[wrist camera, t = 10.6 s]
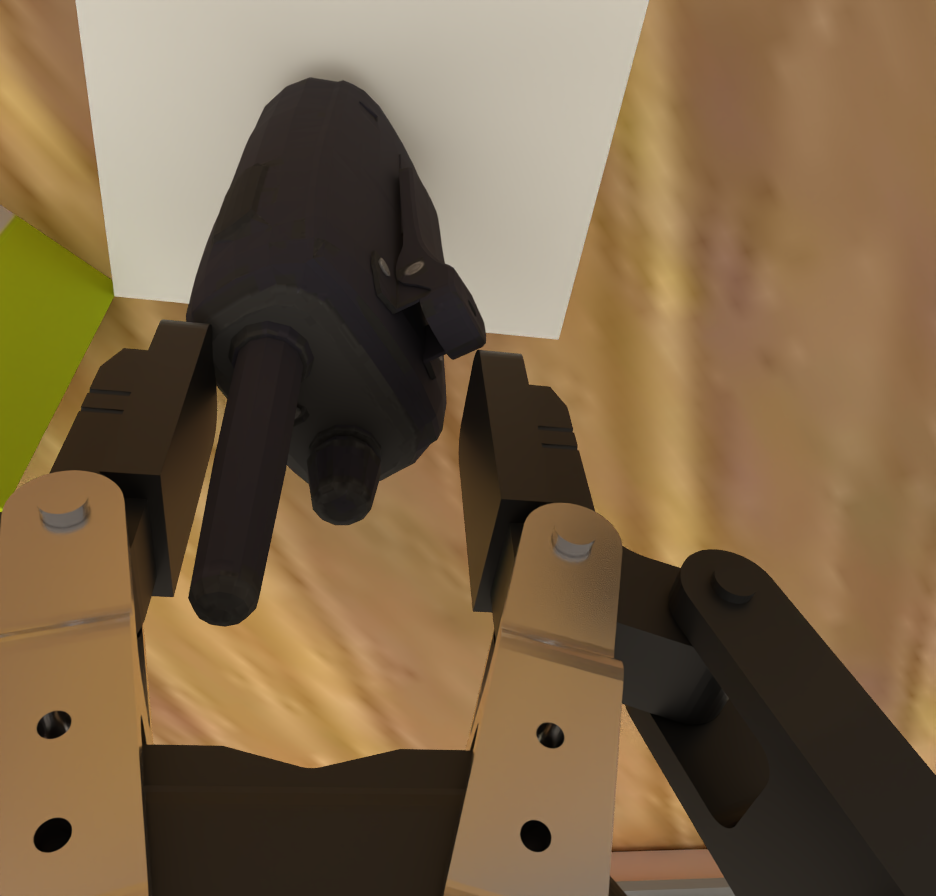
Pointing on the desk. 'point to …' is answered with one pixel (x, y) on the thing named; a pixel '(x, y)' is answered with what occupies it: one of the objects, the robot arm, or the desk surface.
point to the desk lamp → (668, 873)
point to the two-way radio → (319, 328)
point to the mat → (403, 102)
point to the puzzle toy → (39, 336)
